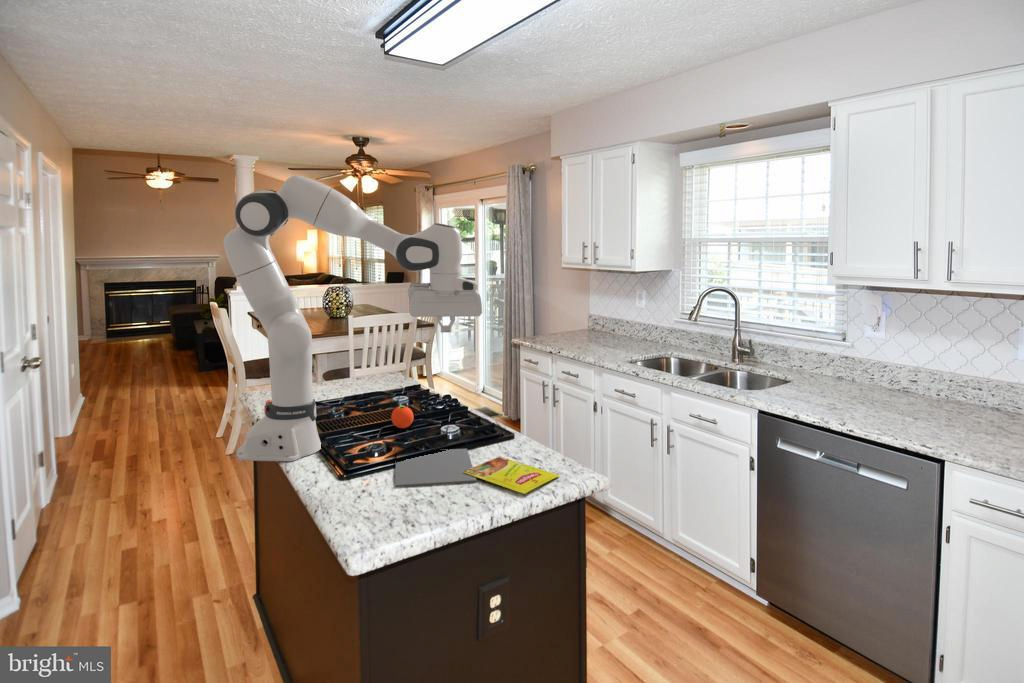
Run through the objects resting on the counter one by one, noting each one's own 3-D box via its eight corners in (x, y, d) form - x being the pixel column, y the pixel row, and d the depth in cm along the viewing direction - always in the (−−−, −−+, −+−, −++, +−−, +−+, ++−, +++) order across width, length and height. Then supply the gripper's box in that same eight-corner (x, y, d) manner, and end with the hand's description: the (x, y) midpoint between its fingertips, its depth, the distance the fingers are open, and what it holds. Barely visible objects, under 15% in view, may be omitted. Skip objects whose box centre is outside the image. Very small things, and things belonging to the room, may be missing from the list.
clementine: (389, 424, 199) (388, 403, 197) (410, 422, 201) (410, 401, 200) (393, 432, 191) (393, 410, 190) (415, 430, 194) (415, 408, 192)
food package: (500, 454, 172) (560, 473, 160) (500, 458, 172) (560, 477, 160) (462, 470, 160) (524, 491, 148) (462, 474, 160) (524, 496, 148)
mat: (395, 487, 152) (395, 485, 152) (395, 454, 174) (395, 452, 174) (476, 482, 156) (476, 480, 156) (467, 450, 177) (467, 448, 177)
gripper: (407, 284, 168) (408, 334, 170) (483, 284, 171) (482, 333, 173) (407, 281, 174) (408, 330, 176) (480, 282, 177) (480, 329, 180)
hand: (445, 332), depth 175 cm, fingers closed
